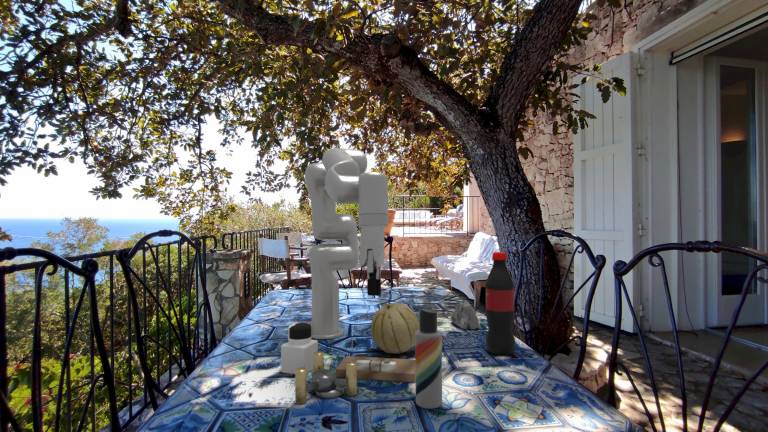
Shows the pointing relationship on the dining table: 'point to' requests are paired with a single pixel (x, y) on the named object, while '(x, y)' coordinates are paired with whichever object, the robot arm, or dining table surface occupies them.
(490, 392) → the dining table surface
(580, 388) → the dining table surface
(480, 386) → the dining table surface
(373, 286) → the robot arm
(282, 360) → the medicine bottle
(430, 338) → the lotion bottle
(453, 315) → the mineral rock
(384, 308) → the cantaloupe
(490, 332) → the cola bottle
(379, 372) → the level board
